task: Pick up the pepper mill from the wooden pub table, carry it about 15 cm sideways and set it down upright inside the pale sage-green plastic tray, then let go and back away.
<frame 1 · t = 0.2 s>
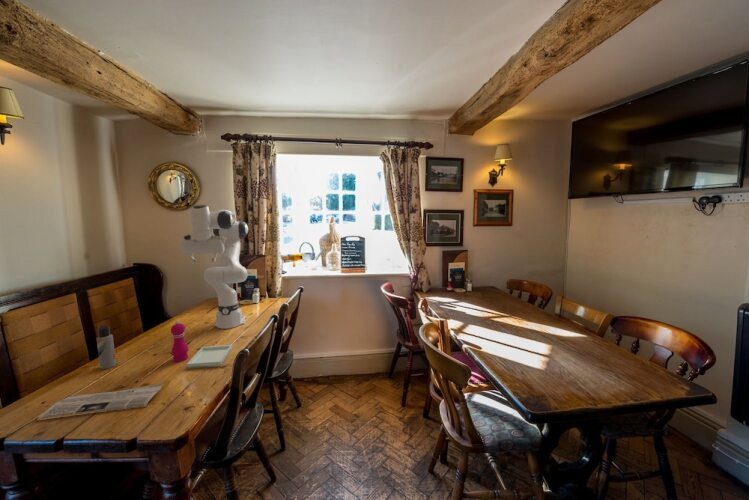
hand: (204, 261, 156), 47 cm above the table, tool pointing down, fingers open, 8 cm apart
tray: (211, 358, 148), on the table
lotion bottle: (108, 366, 141), on the table
newspaper: (107, 404, 114), on the table
pepper mill: (180, 359, 148), on the table
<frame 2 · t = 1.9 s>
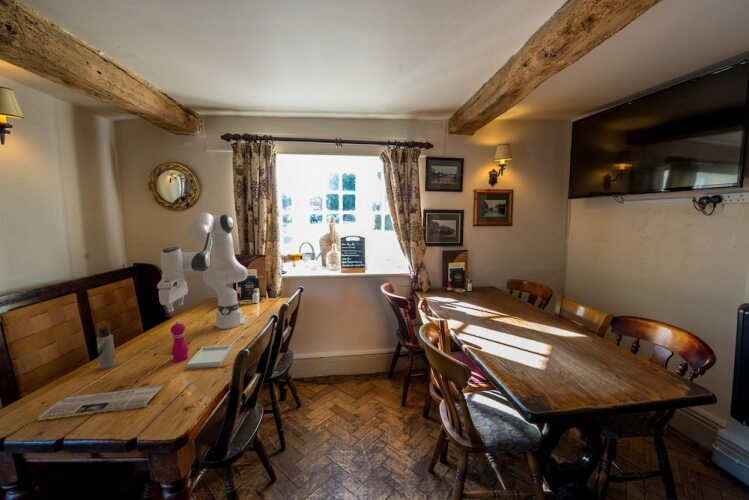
hand: (176, 308, 144), 27 cm above the table, tool pointing down, fingers open, 8 cm apart
nothing on the table moved.
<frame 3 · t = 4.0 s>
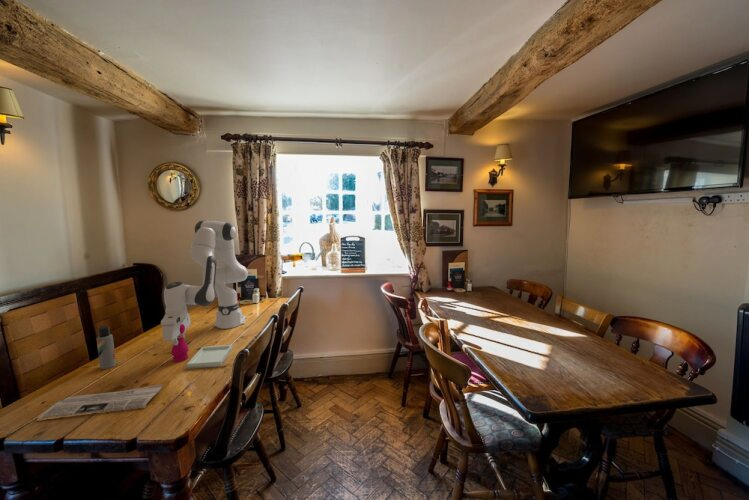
hand: (179, 341, 147), 9 cm above the table, tool pointing down, fingers closed on pepper mill, 5 cm apart
pepper mill: (180, 359, 148), on the table, touching gripper
everything else where it was.
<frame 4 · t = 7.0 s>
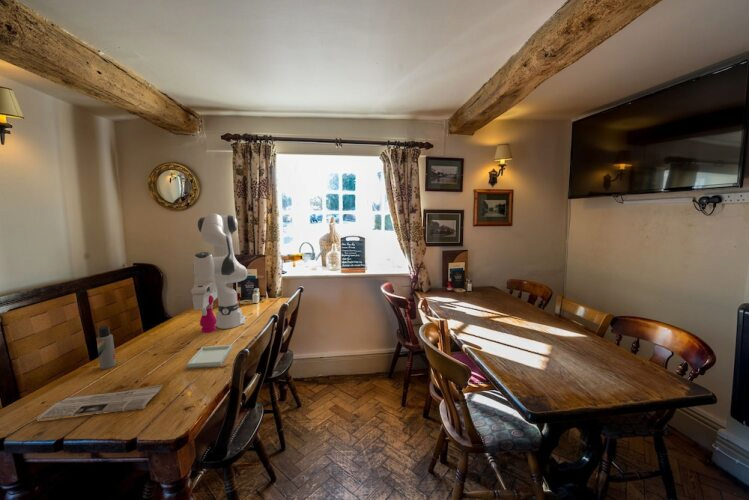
hand: (207, 312, 145), 24 cm above the table, tool pointing down, fingers closed on pepper mill, 5 cm apart
pepper mill: (208, 331, 147), point 15 cm above the table, touching gripper
when the fingers open (11 cm above the table, at t = 9.9 s): pepper mill stays where it is, resting on tray.
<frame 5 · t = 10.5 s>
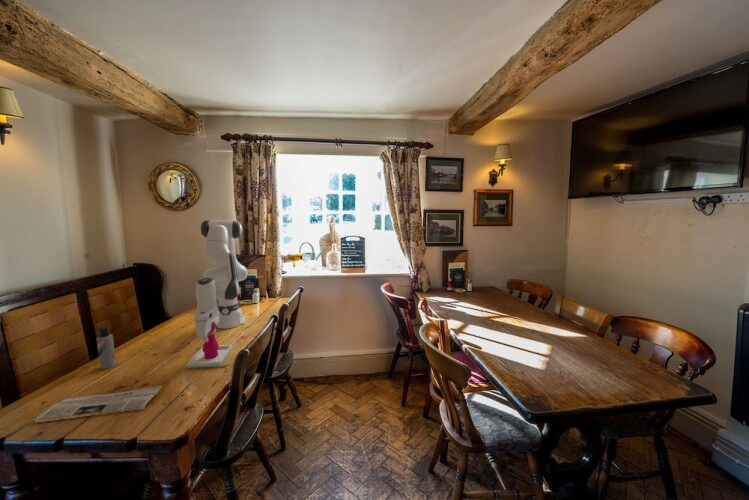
hand: (209, 337, 147), 11 cm above the table, tool pointing down, fingers open, 8 cm apart
pepper mill: (211, 356, 149), point 1 cm above the table, touching tray
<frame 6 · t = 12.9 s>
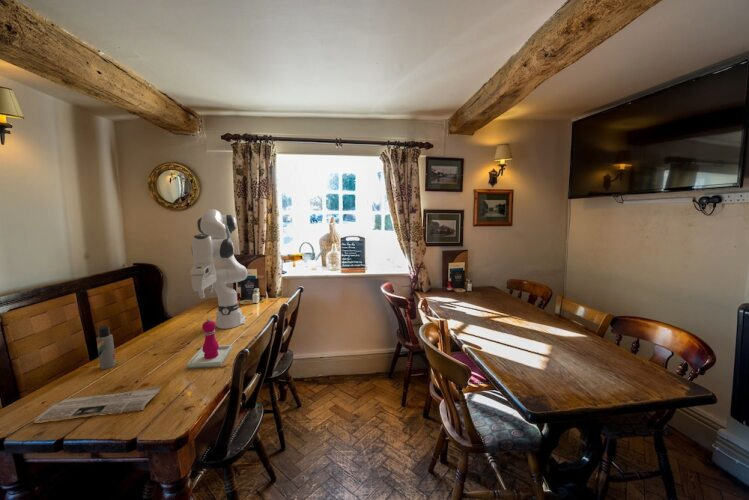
hand: (206, 295, 144), 33 cm above the table, tool pointing down, fingers open, 8 cm apart
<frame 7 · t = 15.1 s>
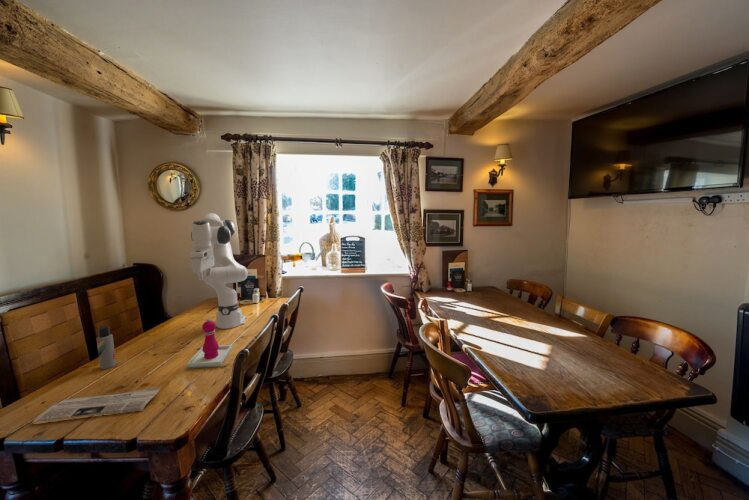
hand: (205, 277, 155), 39 cm above the table, tool pointing down, fingers open, 8 cm apart
at the end: pepper mill inside the target area on the tray (0.5 cm from its centre), point 0.8 cm above the tray's base; pepper mill tilted 0°; the gripper is holding nothing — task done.
